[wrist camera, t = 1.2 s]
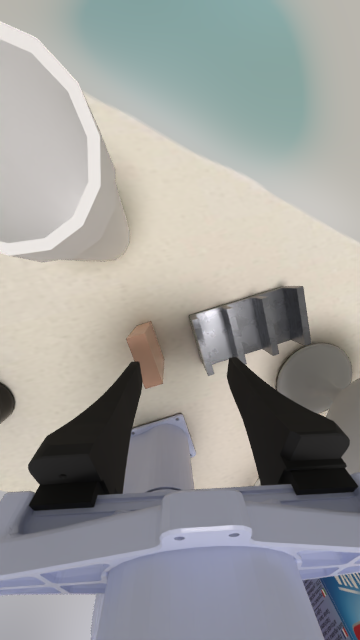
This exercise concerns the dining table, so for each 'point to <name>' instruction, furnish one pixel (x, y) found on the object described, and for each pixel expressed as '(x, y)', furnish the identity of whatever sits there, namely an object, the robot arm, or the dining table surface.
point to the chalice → (326, 391)
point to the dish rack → (251, 325)
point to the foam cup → (52, 162)
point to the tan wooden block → (147, 354)
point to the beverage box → (335, 604)
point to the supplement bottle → (5, 403)
